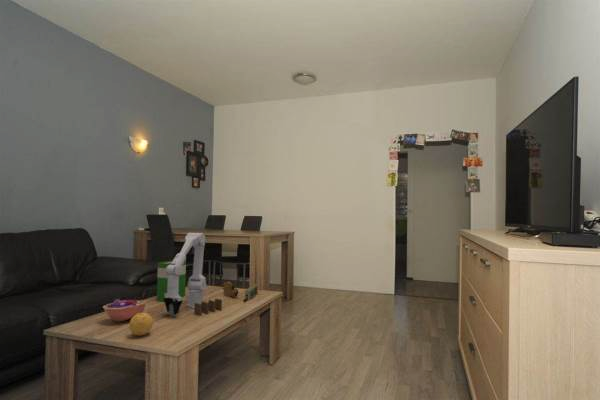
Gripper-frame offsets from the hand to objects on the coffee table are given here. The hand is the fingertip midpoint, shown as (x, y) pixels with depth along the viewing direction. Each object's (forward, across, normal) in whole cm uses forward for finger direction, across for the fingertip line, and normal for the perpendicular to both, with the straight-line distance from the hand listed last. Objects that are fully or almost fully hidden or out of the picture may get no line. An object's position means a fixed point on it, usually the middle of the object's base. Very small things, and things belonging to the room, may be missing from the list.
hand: (172, 312), depth 189 cm
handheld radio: (+2, 0, +56) cm, 56 cm away
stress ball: (+2, +17, -25) cm, 30 cm away
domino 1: (+2, 0, 0) cm, 2 cm away
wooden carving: (+2, -13, +49) cm, 51 cm away
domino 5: (+2, +8, +24) cm, 25 cm away
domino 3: (+2, +8, +15) cm, 17 cm away
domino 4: (+2, +8, +20) cm, 21 cm away
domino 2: (+2, +8, +10) cm, 13 cm away
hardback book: (+2, -37, +20) cm, 42 cm away
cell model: (+2, -12, -20) cm, 23 cm away
